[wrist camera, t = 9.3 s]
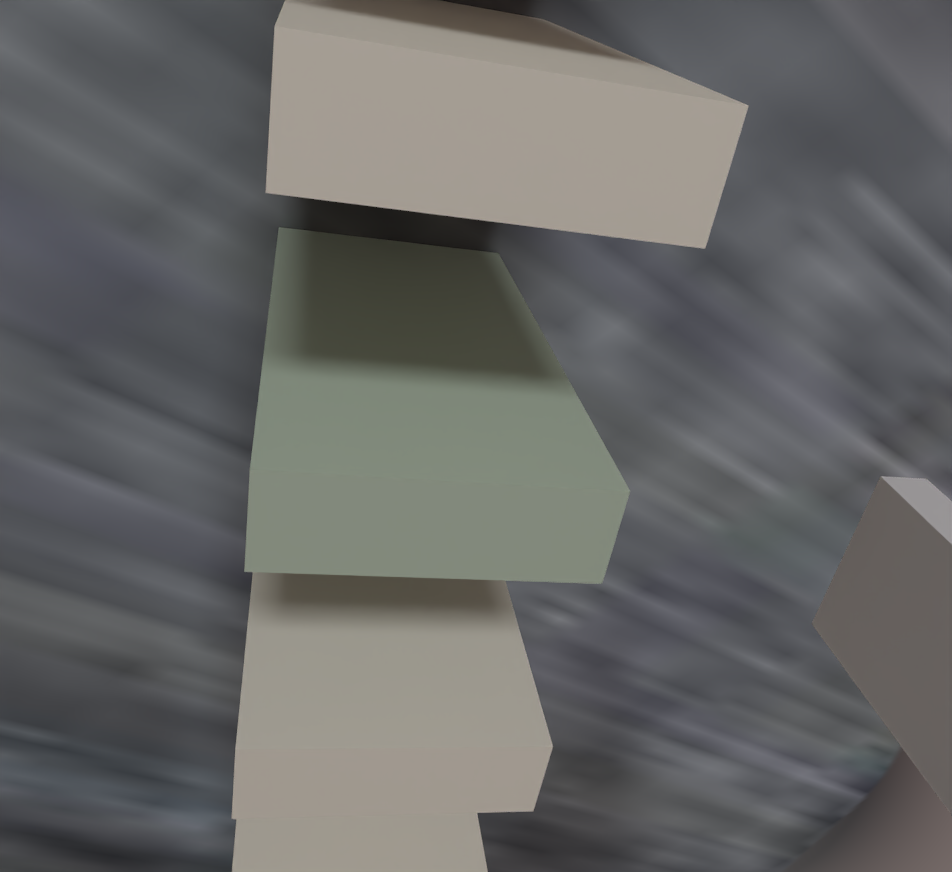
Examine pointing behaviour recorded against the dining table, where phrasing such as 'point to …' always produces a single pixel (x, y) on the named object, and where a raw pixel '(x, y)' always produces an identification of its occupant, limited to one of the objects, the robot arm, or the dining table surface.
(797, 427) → the dining table surface
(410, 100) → the domino
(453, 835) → the domino
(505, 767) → the domino
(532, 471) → the domino
